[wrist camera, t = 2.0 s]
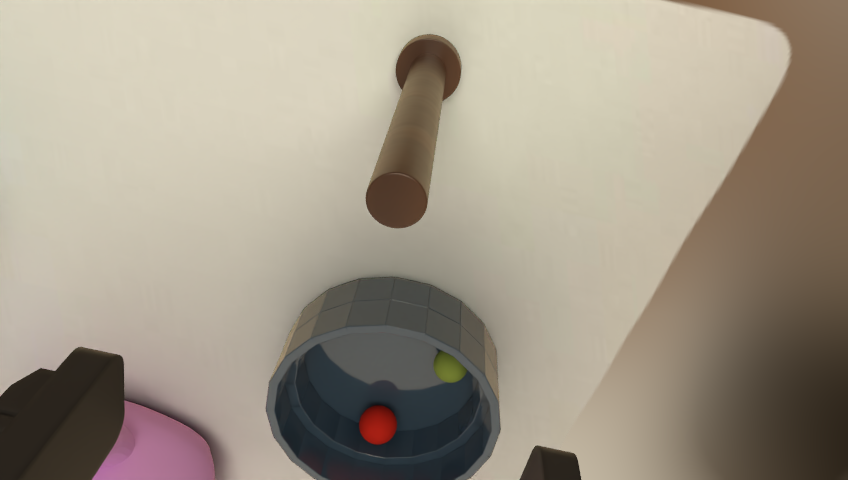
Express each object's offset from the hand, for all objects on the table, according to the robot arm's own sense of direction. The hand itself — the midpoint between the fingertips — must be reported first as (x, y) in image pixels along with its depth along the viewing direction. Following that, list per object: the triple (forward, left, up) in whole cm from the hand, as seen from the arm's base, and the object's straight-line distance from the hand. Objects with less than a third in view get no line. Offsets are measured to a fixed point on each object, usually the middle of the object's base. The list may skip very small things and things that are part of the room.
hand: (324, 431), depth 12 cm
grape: (-6, +19, -26) cm, 32 cm away
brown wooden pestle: (0, 0, -28) cm, 28 cm away
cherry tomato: (-2, +26, -26) cm, 36 cm away
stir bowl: (-2, +21, -28) cm, 35 cm away
